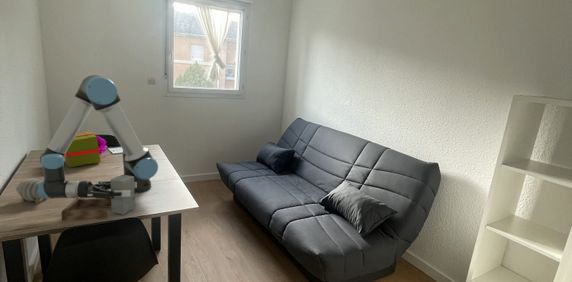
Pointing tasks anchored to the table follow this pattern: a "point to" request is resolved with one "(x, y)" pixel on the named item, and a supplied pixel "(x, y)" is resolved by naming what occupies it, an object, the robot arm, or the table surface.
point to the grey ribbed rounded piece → (29, 190)
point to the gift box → (85, 149)
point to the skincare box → (122, 203)
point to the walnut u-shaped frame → (75, 214)
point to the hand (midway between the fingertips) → (133, 189)
